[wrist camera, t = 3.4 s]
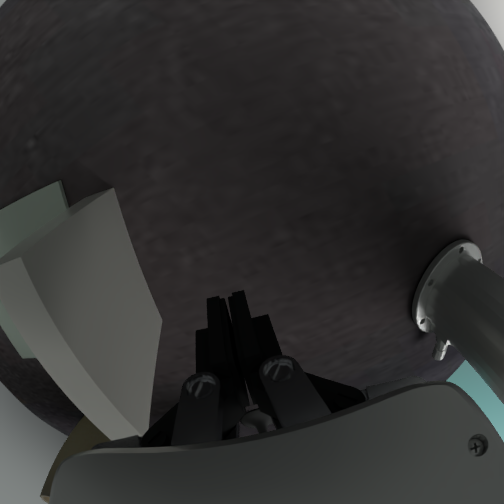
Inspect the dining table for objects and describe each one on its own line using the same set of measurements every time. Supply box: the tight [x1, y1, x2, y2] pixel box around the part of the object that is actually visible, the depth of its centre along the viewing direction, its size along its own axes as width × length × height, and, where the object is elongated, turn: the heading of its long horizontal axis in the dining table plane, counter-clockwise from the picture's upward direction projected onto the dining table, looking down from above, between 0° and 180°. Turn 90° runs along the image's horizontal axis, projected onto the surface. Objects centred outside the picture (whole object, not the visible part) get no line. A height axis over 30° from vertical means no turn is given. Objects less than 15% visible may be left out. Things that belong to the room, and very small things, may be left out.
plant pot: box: [40, 415, 111, 504], centre depth 21 cm, size 15×15×16 cm
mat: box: [0, 180, 69, 358], centre depth 19 cm, size 16×16×1 cm
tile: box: [0, 188, 162, 441], centre depth 15 cm, size 12×3×12 cm, turn 10°
